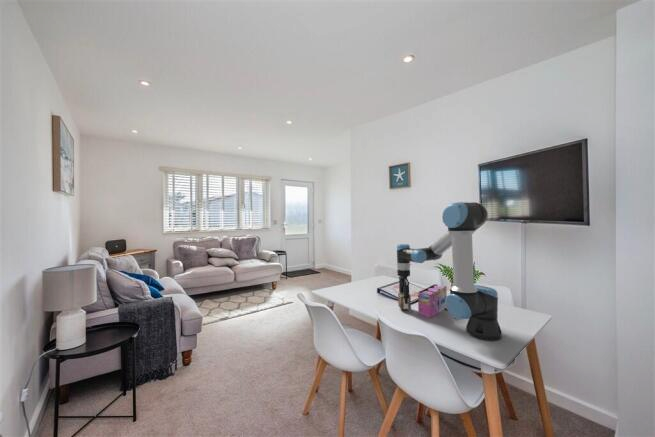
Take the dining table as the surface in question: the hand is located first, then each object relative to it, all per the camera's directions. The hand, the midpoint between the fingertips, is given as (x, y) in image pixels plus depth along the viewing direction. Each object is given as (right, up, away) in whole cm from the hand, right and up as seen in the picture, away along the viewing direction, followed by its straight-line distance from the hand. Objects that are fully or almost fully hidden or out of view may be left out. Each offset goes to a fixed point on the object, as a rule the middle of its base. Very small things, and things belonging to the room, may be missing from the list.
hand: (404, 306), depth 165 cm
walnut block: (0, 0, 0) cm, 0 cm away
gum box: (+17, -2, -3) cm, 17 cm away
